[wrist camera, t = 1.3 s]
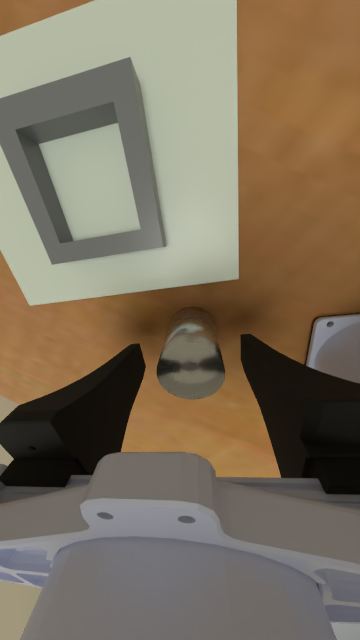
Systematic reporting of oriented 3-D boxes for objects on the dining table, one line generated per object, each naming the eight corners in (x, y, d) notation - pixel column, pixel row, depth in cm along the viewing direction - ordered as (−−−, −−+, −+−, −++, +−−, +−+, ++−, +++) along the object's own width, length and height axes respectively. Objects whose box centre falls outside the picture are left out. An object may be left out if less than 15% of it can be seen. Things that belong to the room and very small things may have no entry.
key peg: (212, 304, 14) (223, 342, 9) (215, 344, 16) (226, 398, 11) (166, 309, 15) (150, 348, 10) (173, 348, 17) (163, 400, 11)
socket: (233, -36, 8) (245, -121, 6) (237, 277, 13) (243, 283, 12) (-82, 79, 10) (-142, 43, 8) (34, 303, 16) (13, 311, 14)
